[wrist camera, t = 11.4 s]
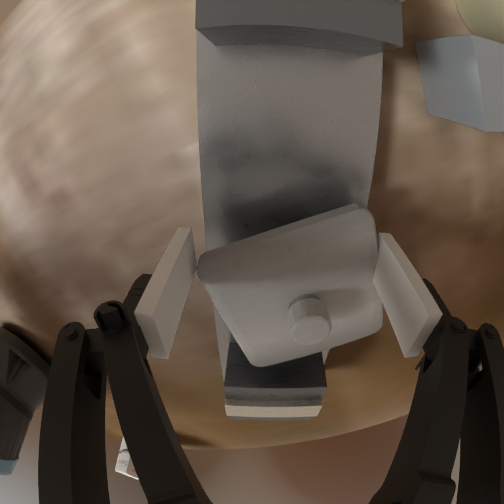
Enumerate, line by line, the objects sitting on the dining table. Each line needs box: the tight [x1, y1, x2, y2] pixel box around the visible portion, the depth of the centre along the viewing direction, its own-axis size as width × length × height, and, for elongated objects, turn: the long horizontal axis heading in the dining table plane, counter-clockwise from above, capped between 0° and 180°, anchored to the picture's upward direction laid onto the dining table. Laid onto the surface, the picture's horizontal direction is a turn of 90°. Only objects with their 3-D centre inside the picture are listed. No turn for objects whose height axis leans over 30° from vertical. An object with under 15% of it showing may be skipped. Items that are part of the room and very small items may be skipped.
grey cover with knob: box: [197, 203, 383, 367], centre depth 16 cm, size 10×10×5 cm
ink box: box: [115, 436, 139, 480], centre depth 40 cm, size 8×5×12 cm, turn 33°
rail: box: [195, 0, 405, 421], centre depth 15 cm, size 10×36×7 cm, turn 0°
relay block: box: [414, 34, 504, 132], centre depth 9 cm, size 5×5×6 cm
